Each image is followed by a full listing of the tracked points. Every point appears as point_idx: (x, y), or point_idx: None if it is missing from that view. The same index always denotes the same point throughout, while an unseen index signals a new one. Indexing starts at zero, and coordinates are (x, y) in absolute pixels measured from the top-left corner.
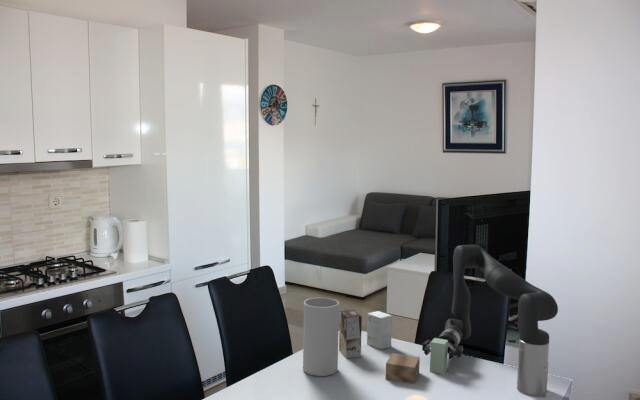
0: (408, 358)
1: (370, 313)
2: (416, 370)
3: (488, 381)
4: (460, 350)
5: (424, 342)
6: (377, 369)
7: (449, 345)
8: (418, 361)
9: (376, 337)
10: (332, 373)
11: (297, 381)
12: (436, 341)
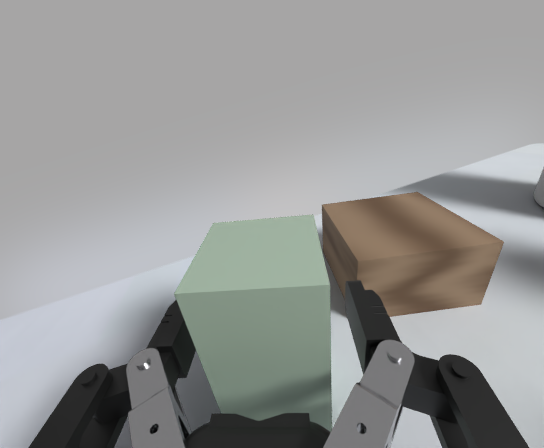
0: (390, 235)
1: None
2: (332, 245)
3: (36, 383)
4: (81, 374)
5: (511, 433)
6: (510, 275)
7: (167, 422)
8: (345, 249)
9: None
10: (537, 201)
11: (534, 176)
12: (279, 232)
